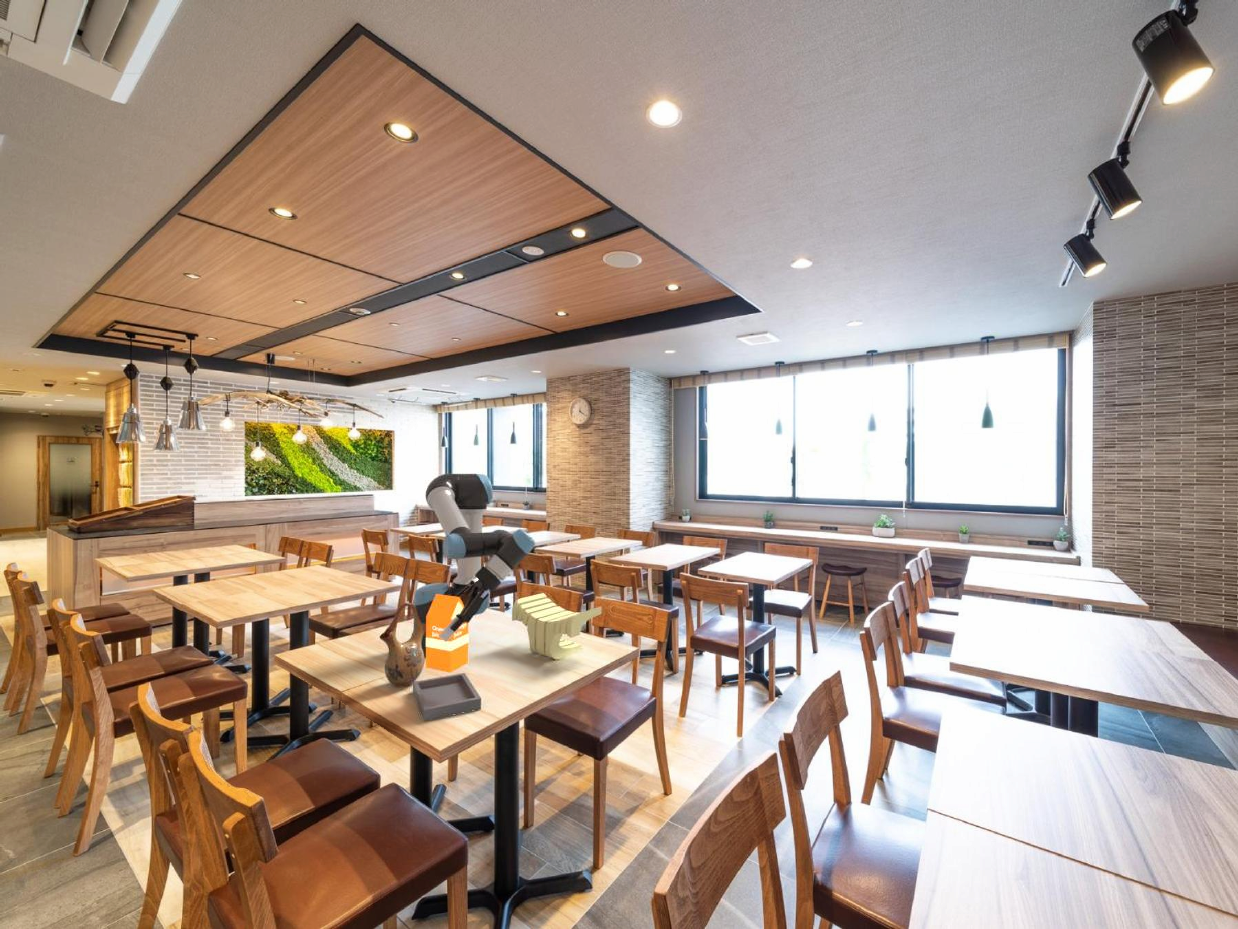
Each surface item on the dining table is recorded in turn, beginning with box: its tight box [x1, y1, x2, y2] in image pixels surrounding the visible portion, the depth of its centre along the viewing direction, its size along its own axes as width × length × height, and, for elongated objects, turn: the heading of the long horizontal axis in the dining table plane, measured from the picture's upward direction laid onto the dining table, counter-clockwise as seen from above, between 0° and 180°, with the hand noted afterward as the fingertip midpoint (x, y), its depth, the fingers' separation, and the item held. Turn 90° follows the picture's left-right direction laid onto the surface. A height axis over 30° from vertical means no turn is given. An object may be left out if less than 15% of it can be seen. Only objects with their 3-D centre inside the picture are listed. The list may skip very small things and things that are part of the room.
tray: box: [412, 672, 482, 722], centre depth 145 cm, size 20×15×3 cm
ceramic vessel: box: [379, 602, 426, 688], centre depth 156 cm, size 16×9×25 cm, turn 146°
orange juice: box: [425, 594, 469, 673], centre depth 145 cm, size 8×9×20 cm
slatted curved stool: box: [511, 592, 603, 661], centre depth 186 cm, size 30×16×18 cm, turn 53°
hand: (438, 632), depth 144 cm, fingers closed on orange juice, 11 cm apart
